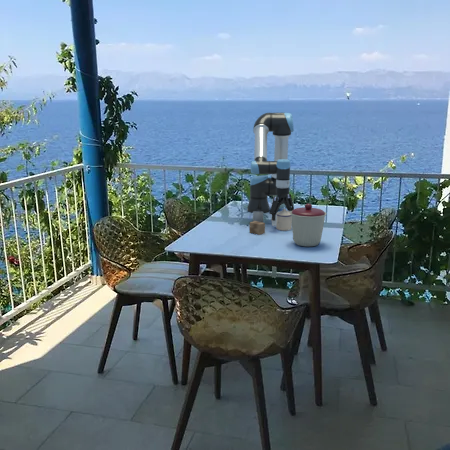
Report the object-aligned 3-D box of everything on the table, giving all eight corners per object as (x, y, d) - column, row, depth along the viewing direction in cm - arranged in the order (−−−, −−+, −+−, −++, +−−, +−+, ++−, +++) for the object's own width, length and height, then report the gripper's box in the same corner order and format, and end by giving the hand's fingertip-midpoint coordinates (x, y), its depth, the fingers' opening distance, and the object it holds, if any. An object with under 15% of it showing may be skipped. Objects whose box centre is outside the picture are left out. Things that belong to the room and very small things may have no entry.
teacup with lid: (292, 227, 273) (293, 207, 270) (290, 231, 265) (291, 211, 262) (272, 226, 276) (273, 206, 274) (269, 229, 268) (270, 209, 265)
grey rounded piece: (250, 225, 278) (250, 212, 276) (257, 223, 283) (257, 210, 281) (258, 227, 274) (258, 213, 272) (265, 225, 279) (265, 211, 277)
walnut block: (249, 232, 262) (249, 222, 260) (255, 231, 265) (255, 220, 264) (259, 235, 257) (259, 224, 256) (264, 233, 261) (265, 223, 259)
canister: (300, 237, 253) (302, 198, 248) (331, 243, 242) (333, 203, 237) (282, 244, 240) (283, 204, 234) (313, 251, 228) (315, 209, 223)
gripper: (274, 190, 253) (273, 228, 259) (301, 185, 271) (299, 221, 276) (263, 189, 258) (262, 226, 264) (290, 183, 276) (289, 219, 281)
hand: (281, 223), depth 270 cm, fingers open, 13 cm apart
